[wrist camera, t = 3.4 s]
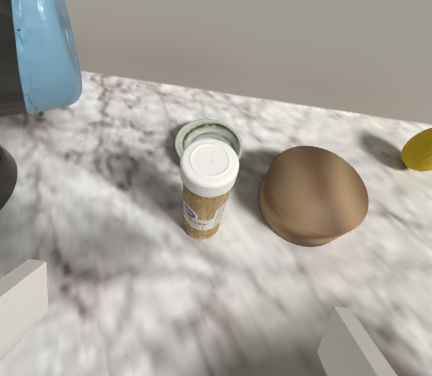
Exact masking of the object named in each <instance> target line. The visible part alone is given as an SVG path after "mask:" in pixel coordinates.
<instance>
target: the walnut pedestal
mask: <svg viewBox="0 0 432 376" xmlns="http://www.w3.org/2000/svg"><path fill="white" fill-rule="evenodd" d="M258 203H259V208H260V211H261V214H262V216H263V218H264V220H265V221H266V223H267V224H268V225H269V227H270V228H271V229H272V230H273V231H274V232H275V233H276V234H278V235H279V236H280V237H282V238H283V239H285V240H287V241H289V242H291V243H293V244H296V245H300V246H305V247H316V246H321V245H324V244H327V243H329V242H330V241H332V240H334V239H336V238H338V237H340V236H342V235H344V234H346V233H347V232H349V231H351V230H353V229H355V228H356V227H357V226H359V225H360V224H361V222H362V221H363V220H364V218H365V216H366V214H367V211H368V194H367V190H366V187H365V185H364V183H363V181H362V179H361V177H360V176H359V174H358V173H357V172H356V171H355V169H354V168H353V167H352V166H351V165H350V164H349V163H347V162H346V161H345V160H344V159H342V158H341V157H339V156H338V155H336V154H334V153H332V152H330V151H328V150H325V149H322V148H318V147H313V146H297V147H293V148H290V149H287V150H285V151H284V152H282V153H281V154H279V155H278V156H277V157H276V159H275V160H274V162H273V163H272V165H271V167H270V169H269V171H268V172H267V174H266V176H265V178H264V180H263V182H262V184H261V186H260V188H259V193H258Z"/></svg>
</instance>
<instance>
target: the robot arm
mask: <svg viewBox="0 0 432 376" xmlns="http://www.w3.org/2000/svg"><path fill="white" fill-rule="evenodd" d="M81 92H82V77H81V70H80V65H79V60H78V55H77V50H76V46H75V41H74V36H73V32H72V28H71V24H70V20H69V16H68V12H67V8H66V4H65V0H0V117H6V116H13V115H19V114H25V113H28V114H29V115H30V116H32V115H36V114H37V113H38V112H40V111H45V110H50V109H55V108H60V107H65V106H69V105H71V104H73V103H75V102H76V101H77V100H78V99H79V97H80V95H81ZM16 180H17V166H16V163H15V161H14V159H13V157H12V156H11V155H10V153H9V152H8V151H6V150H5V149H4V148H3V147H2V146H1V145H0V210H1V208H2V207H3V206H4V205H5V203H6V202H7V201H8V199H9V197H10V196H11V194H12V192H13V190H14V187H15V184H16ZM47 312H48V289H47V262H46V261H41V260H35V259H28V260H27V261H25V262H24V263H22V264H21V265H19V266H18V267H16V268H15V269H14V270H12V271H11V272H9V273H8V274H6V275H5V276H3V277H2V278H1V279H0V363H1V362H2V361H3V359H4V358H5V357H6V356H7V355H8V354H9V353H10V352H11V351H12V350H13V349H14V348H15V347H16V346H17V344H18V343H19V342H20V341H21V340H22V339H23V338H24V337H25V336H26V335H27V334H28V333H29V332H30V331H31V329H32V328H33V327H34V326H35V325H36V324H37V323H38V322H39V321H40V320H41V319H42V318H43V317H44V316H45V314H46V313H47ZM317 353H318V355H319V358H320V360H321V362H322V365H323V367H324V370H325V372H326V374H327V376H397V374H396V373H395V371H394V370H393V369H392V367H391V366H390V364H389V363H388V362H387V360H386V359H385V357H384V356H383V354H382V353H381V352H380V350H379V349H378V347H377V346H376V345H375V343H374V342H373V340H372V339H371V337H370V336H369V335H368V333H367V332H366V330H365V329H364V328H363V326H362V325H361V323H360V322H359V320H358V319H357V318H356V316H355V315H354V313H353V312H352V311H351V309H350V308H343V307H337V306H334V307H333V310H332V312H331V315H330V318H329V321H328V323H327V326H326V329H325V332H324V334H323V337H322V340H321V343H320V345H319V348H318V351H317Z"/></svg>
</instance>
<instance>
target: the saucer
mask: <svg viewBox="0 0 432 376" xmlns="http://www.w3.org/2000/svg"><path fill="white" fill-rule="evenodd" d="M206 138H209V139H217V140H220V141H222V142H224V143H226V144H228V145H229V146H230V147H231V148H232V149H233V150H234V151H235V153H236V154H237V157H238V160H239V159H240V157H241V154H242V141H241V139H240V137H239V135H238V134H237V132H236V131H235V130H234V129H233V128H231V127H230V126H229V125H227V124H225V123H223V122H220V121H217V120H212V119H200V120H195V121H192V122H190V123H188V124H186V125H185V126H183V127H182V128H181V129H180V130H179V132H178V133H177V135H176V138H175V150H176V153H177V155H178V157H179V158H181V155H182V152H183V151H184V149H185V148H186V147H187V146H188V145H189V144H191V143H192V142H194V141H197V140H200V139H206Z"/></svg>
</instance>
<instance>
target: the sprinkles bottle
mask: <svg viewBox="0 0 432 376" xmlns="http://www.w3.org/2000/svg"><path fill="white" fill-rule="evenodd" d="M238 170H239V160H238V157H237V154H236V153H235V151H234V150H233V149H232V148H231V147H230V146H229V145H228V144H226V143H224V142H222V141H220V140H217V139H209V138H206V139H200V140H197V141H194V142H192V143H191V144H189V145H188V146H187V147H186V148H185V149H184V151H183V152H182V155H181V158H180V176H181V179H182V182H183V193H184V194H183V196H184V197H183V212H184V220H183V223H184V227H185V229H186V231H187V233H188V234H189V235H190V236H192V237H194V238H197V239H207V238H209V237H211V236H213V235H214V234H215V233H216V232H217V230H218V228H219V224H220V220H221V218H222V214H223V211H224V208H225V205H226V202H227V199H228V195H229V191H230V189H231V188H232V186H233V185H234V183H235V180H236V177H237V174H238Z"/></svg>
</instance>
